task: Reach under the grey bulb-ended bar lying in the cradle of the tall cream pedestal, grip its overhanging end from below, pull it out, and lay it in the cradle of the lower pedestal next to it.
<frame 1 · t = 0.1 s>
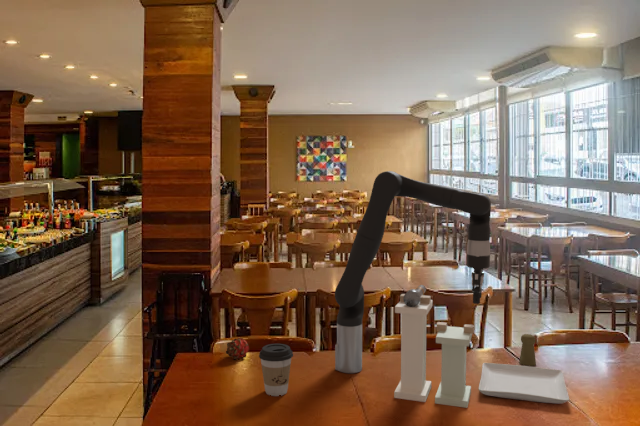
hand: (477, 300, 191), 29 cm above the table, tool pointing down, fingers open, 8 cm apart
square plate: (522, 389, 190), on the table
dragon fruit: (237, 358, 221), on the table
grey bulb-ended bar: (416, 299, 189), point 30 cm above the table, touching tall stand
olive pepper mill: (527, 363, 214), on the table
tall stand: (413, 392, 187), on the table
coffee cup: (276, 392, 188), on the table
low stand: (453, 397, 183), on the table
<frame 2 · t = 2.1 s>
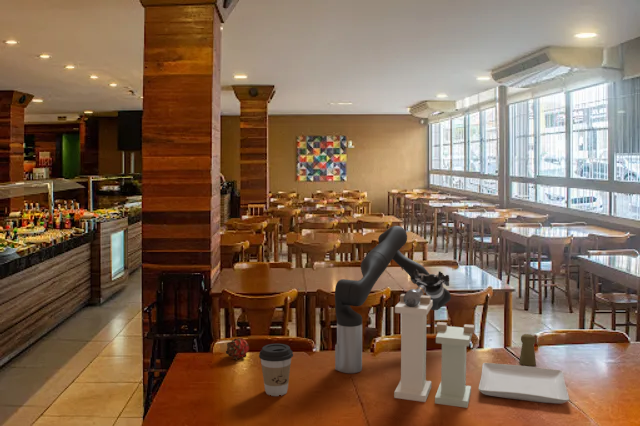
hand: (427, 273, 210), 35 cm above the table, tool pointing upward, fingers open, 8 cm apart
nothing on the table moved.
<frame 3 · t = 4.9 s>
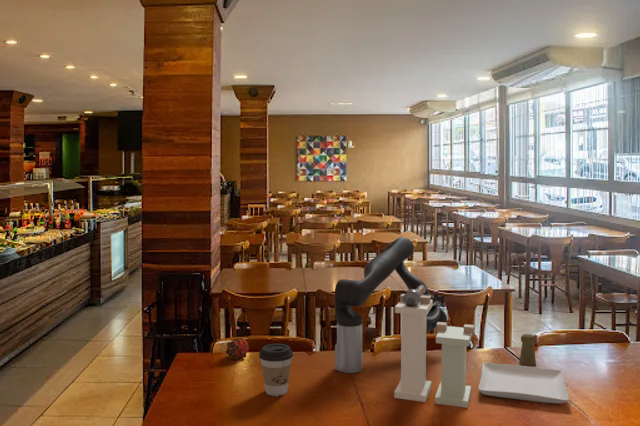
hand: (422, 294, 201), 29 cm above the table, tool pointing upward, fingers open, 8 cm apart
nothing on the table moved.
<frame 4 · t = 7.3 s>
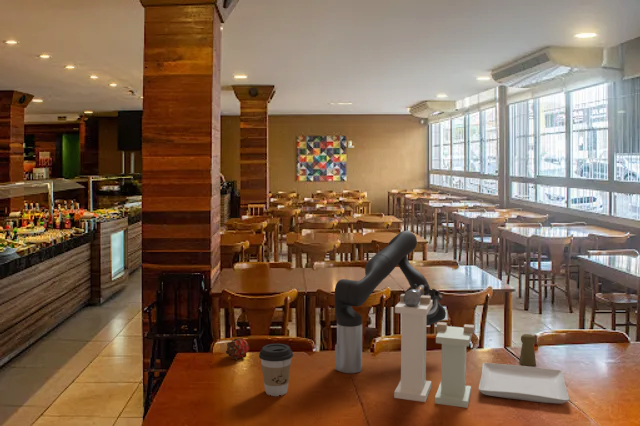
hand: (420, 287, 194), 33 cm above the table, tool pointing upward, fingers closed on grey bulb-ended bar, 3 cm apart
grey bulb-ended bar: (416, 299, 189), point 30 cm above the table, touching gripper, tall stand
everything else where it was.
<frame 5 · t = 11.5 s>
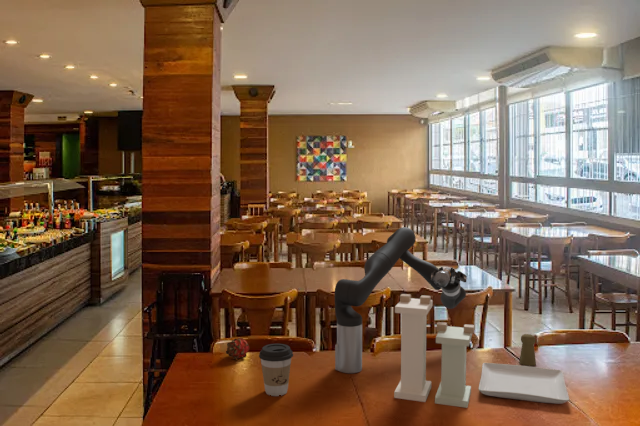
hand: (446, 269, 205), 37 cm above the table, tool pointing upward, fingers closed on grey bulb-ended bar, 3 cm apart
grey bulb-ended bar: (444, 281, 200), point 34 cm above the table, touching gripper
everything else where it was.
when the fingers open (25 cm above the table, at t = 15.8 s): grey bulb-ended bar stays where it is, resting on low stand.
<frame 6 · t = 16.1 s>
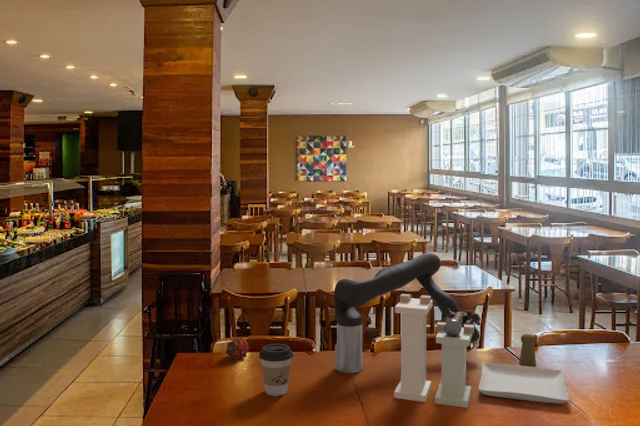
hand: (458, 312, 191), 25 cm above the table, tool pointing upward, fingers open, 6 cm apart
grey bulb-ended bar: (456, 328, 185), point 22 cm above the table, touching low stand
everything else where it was.
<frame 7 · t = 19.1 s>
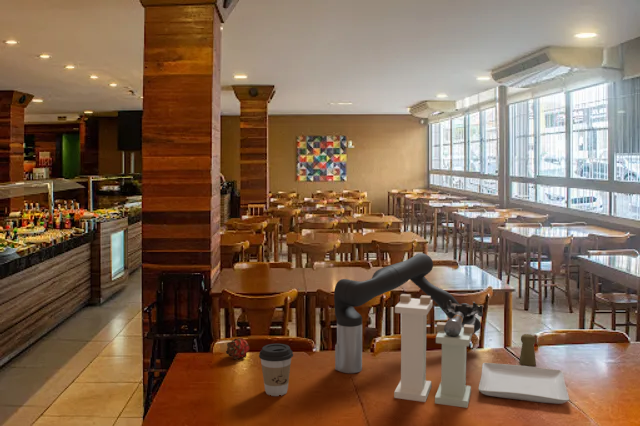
hand: (461, 303, 203), 25 cm above the table, tool pointing upward, fingers open, 8 cm apart
nothing on the table moved.
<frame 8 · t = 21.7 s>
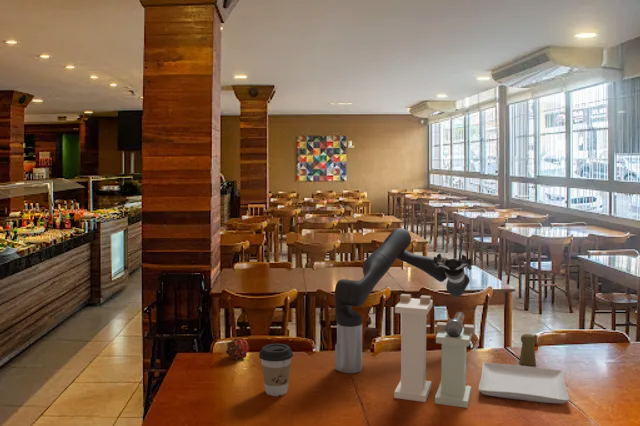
hand: (451, 256, 211), 41 cm above the table, tool pointing upward, fingers open, 8 cm apart
nothing on the table moved.
at the end: grey bulb-ended bar 0.0 cm from the target spot on the low stand, point 21.5 cm above the low stand's base; grey bulb-ended bar touching low stand; the gripper is holding nothing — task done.
